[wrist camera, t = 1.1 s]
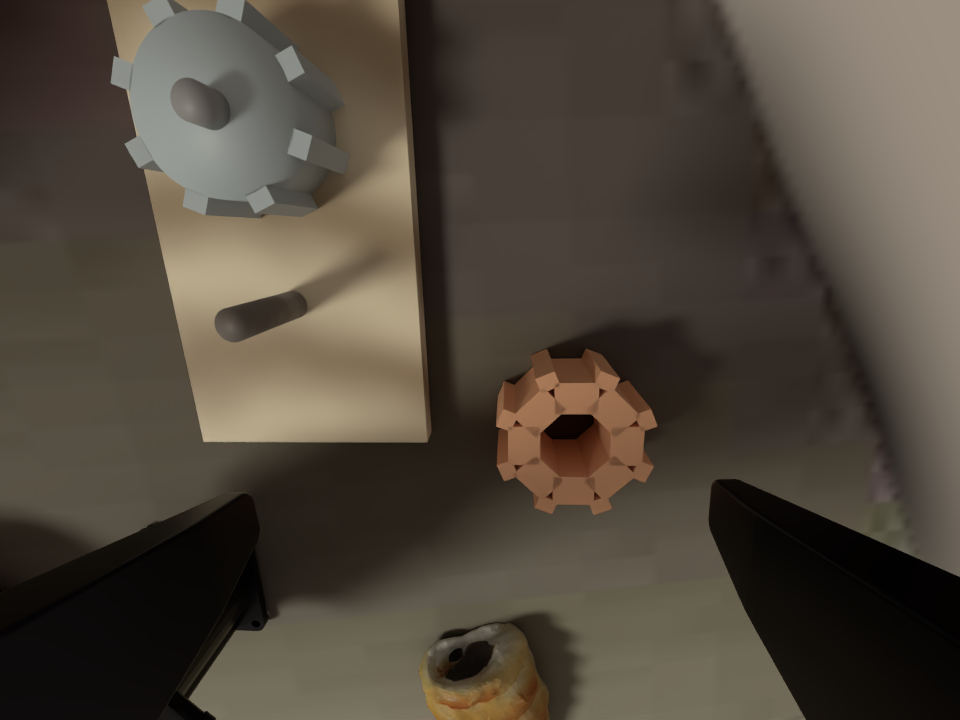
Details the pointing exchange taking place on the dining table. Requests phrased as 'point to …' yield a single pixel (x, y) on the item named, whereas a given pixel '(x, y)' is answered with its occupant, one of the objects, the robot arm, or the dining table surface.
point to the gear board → (309, 256)
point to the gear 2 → (572, 462)
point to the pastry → (484, 677)
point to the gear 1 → (230, 111)
